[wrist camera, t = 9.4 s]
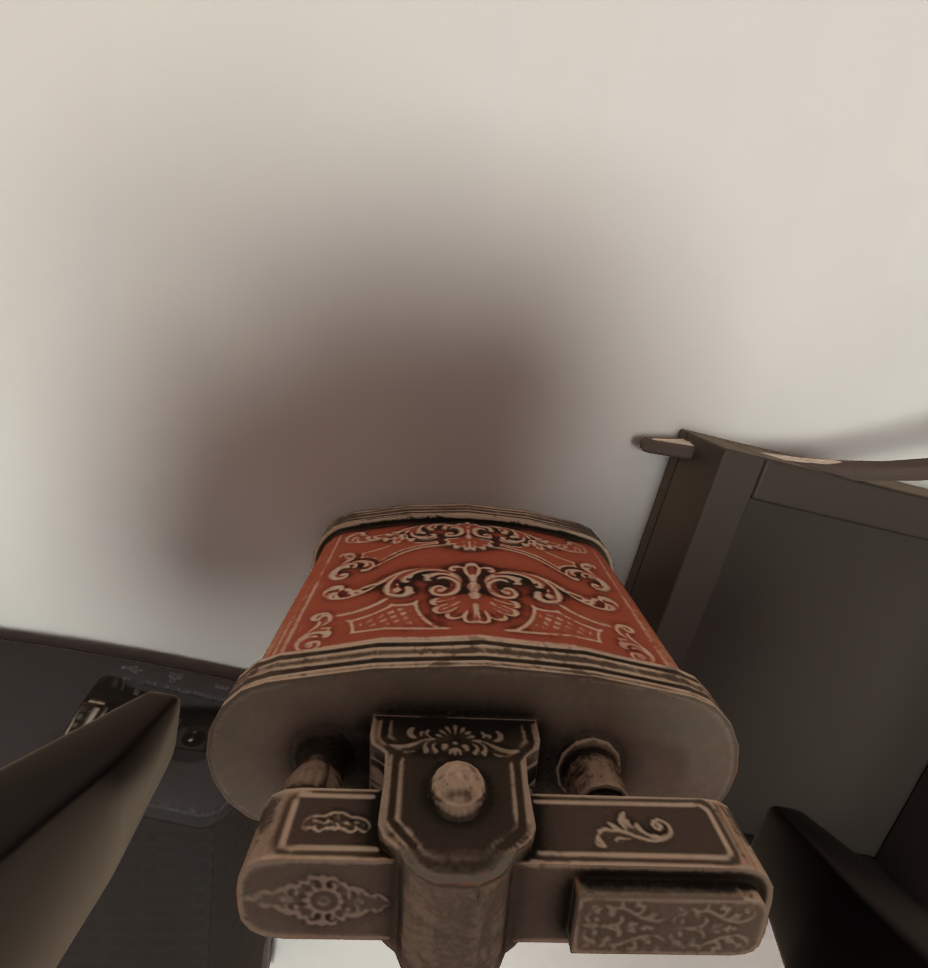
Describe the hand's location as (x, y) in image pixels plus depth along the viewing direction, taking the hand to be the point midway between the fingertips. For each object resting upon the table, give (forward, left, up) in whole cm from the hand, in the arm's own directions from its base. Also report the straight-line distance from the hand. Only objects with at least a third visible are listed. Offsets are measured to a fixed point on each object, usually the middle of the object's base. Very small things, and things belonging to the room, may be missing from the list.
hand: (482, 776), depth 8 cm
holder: (-11, +1, -8) cm, 13 cm away
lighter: (0, 0, -8) cm, 8 cm away
